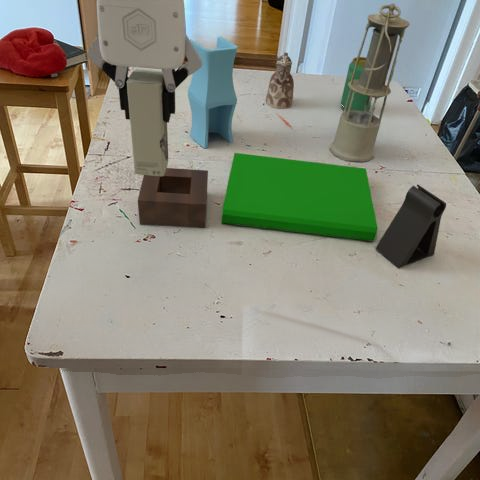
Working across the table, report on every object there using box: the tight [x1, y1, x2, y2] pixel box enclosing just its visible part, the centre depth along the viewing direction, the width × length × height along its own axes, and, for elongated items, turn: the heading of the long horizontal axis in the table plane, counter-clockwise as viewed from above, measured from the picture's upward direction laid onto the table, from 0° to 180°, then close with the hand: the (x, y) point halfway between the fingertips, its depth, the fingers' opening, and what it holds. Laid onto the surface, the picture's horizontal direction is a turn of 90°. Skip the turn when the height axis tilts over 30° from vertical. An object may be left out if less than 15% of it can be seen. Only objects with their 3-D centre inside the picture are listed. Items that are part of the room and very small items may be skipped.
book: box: [221, 152, 378, 242], centre depth 93 cm, size 22×28×3 cm
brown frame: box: [137, 167, 209, 229], centre depth 87 cm, size 12×12×5 cm
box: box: [127, 68, 169, 176], centre depth 65 cm, size 5×4×13 cm
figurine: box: [265, 52, 295, 110], centre depth 124 cm, size 7×7×12 cm
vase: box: [187, 36, 238, 150], centre depth 103 cm, size 8×8×20 cm
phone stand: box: [375, 183, 447, 269], centre depth 81 cm, size 9×6×12 cm, turn 121°
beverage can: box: [340, 56, 373, 111], centre depth 126 cm, size 8×8×12 cm
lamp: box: [329, 3, 411, 162], centre depth 100 cm, size 10×13×30 cm
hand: (148, 115), depth 64 cm, fingers closed on box, 4 cm apart
